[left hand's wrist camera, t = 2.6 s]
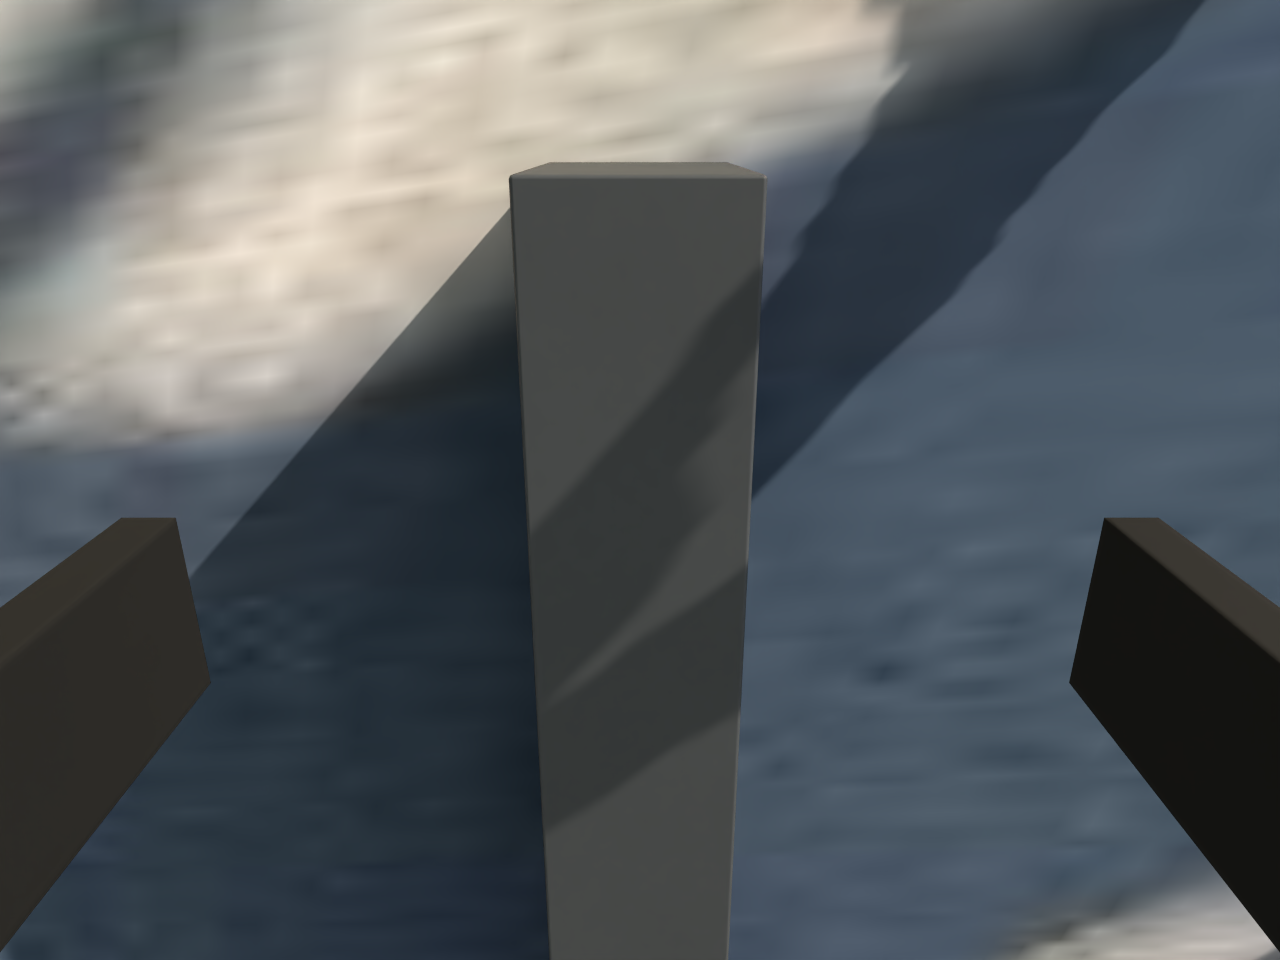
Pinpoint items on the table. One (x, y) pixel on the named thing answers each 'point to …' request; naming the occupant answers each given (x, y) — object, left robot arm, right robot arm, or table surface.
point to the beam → (638, 537)
